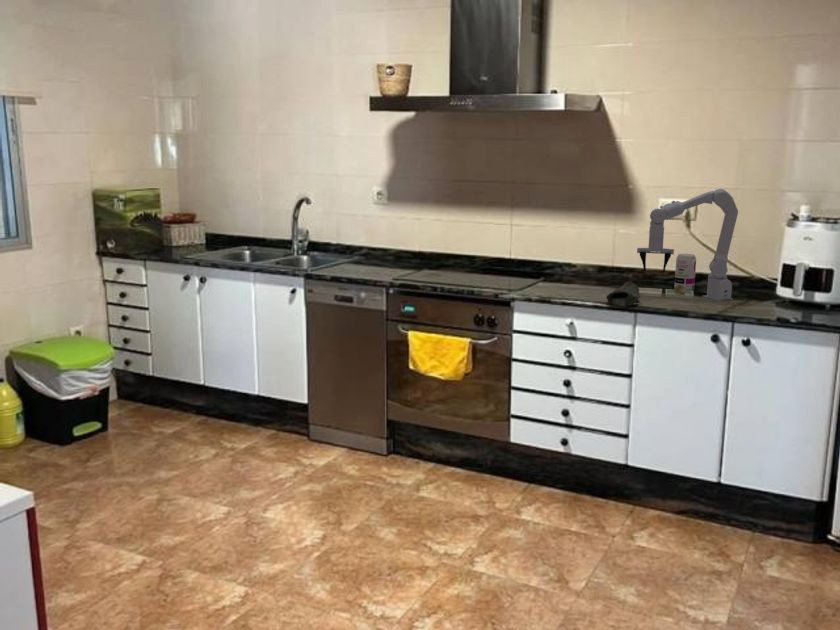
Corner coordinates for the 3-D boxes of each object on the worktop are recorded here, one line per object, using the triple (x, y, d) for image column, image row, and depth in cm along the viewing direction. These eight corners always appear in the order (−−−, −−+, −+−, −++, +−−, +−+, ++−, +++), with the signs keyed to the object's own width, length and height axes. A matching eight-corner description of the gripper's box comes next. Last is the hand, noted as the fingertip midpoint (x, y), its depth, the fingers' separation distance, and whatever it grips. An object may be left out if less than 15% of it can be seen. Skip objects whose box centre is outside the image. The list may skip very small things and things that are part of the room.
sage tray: (692, 294, 345) (693, 290, 344) (693, 300, 334) (693, 295, 334) (665, 293, 348) (665, 289, 347) (665, 298, 337) (665, 294, 337)
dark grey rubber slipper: (635, 309, 318) (649, 296, 340) (635, 290, 317) (649, 278, 338) (601, 308, 324) (618, 295, 346) (601, 290, 323) (617, 278, 344)
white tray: (661, 293, 348) (662, 288, 348) (661, 298, 338) (661, 293, 337) (634, 291, 351) (635, 287, 351) (633, 296, 341) (633, 292, 341)
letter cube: (684, 294, 342) (684, 284, 341) (684, 296, 338) (685, 286, 338) (674, 294, 343) (674, 284, 342) (674, 295, 340) (674, 286, 339)
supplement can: (693, 288, 359) (696, 254, 356) (694, 291, 351) (697, 256, 348) (674, 287, 361) (676, 253, 358) (674, 290, 353) (676, 256, 350)
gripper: (637, 238, 337) (635, 271, 340) (674, 240, 333) (672, 273, 336) (638, 236, 344) (636, 268, 347) (674, 237, 339) (672, 270, 342)
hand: (654, 270), depth 342 cm, fingers open, 7 cm apart
